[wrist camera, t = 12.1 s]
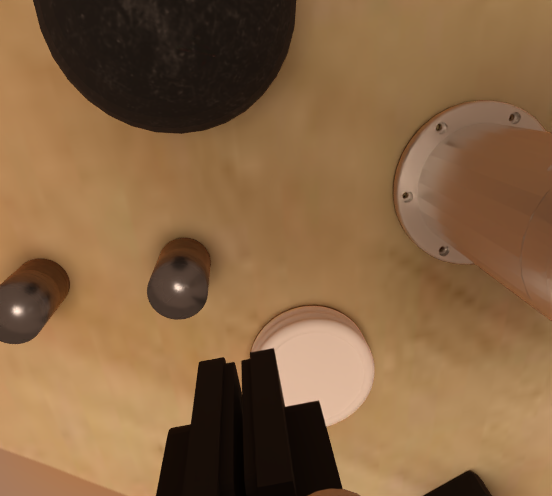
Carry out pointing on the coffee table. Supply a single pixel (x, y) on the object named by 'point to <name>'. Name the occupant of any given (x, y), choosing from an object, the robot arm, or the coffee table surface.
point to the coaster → (320, 359)
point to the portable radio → (463, 487)
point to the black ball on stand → (169, 56)
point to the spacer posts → (55, 286)
